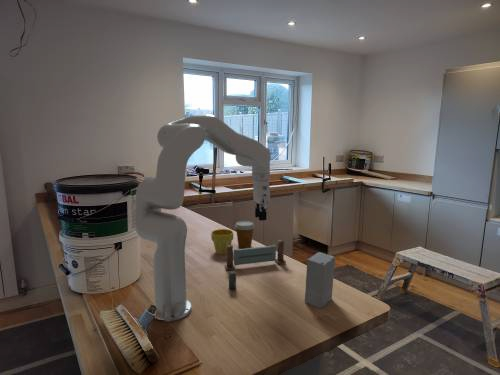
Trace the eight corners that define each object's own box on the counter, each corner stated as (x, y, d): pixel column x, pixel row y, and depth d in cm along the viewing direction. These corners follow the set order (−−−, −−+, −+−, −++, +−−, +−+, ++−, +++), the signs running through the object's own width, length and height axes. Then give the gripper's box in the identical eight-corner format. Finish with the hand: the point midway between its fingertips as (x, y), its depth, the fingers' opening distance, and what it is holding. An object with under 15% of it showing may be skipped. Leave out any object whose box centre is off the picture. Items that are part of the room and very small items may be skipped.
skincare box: (315, 293, 115) (317, 250, 112) (334, 299, 110) (336, 255, 108) (303, 303, 108) (304, 258, 106) (322, 310, 104) (324, 263, 101)
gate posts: (229, 290, 117) (229, 264, 115) (219, 268, 136) (218, 245, 134) (302, 280, 125) (303, 255, 123) (282, 260, 144) (283, 239, 142)
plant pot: (219, 257, 147) (219, 237, 146) (207, 251, 155) (207, 231, 153) (237, 252, 154) (237, 232, 152) (225, 246, 162) (225, 227, 160)
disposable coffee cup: (256, 244, 165) (256, 221, 163) (251, 250, 156) (251, 226, 154) (238, 242, 167) (238, 220, 165) (232, 249, 158) (232, 225, 156)
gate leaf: (235, 265, 135) (234, 250, 134) (234, 264, 136) (233, 249, 135) (275, 260, 140) (275, 246, 139) (274, 259, 141) (274, 244, 140)
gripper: (276, 179, 131) (275, 223, 134) (262, 174, 147) (262, 213, 150) (258, 180, 129) (258, 224, 132) (246, 174, 145) (247, 214, 148)
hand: (260, 218), depth 141 cm, fingers open, 4 cm apart
